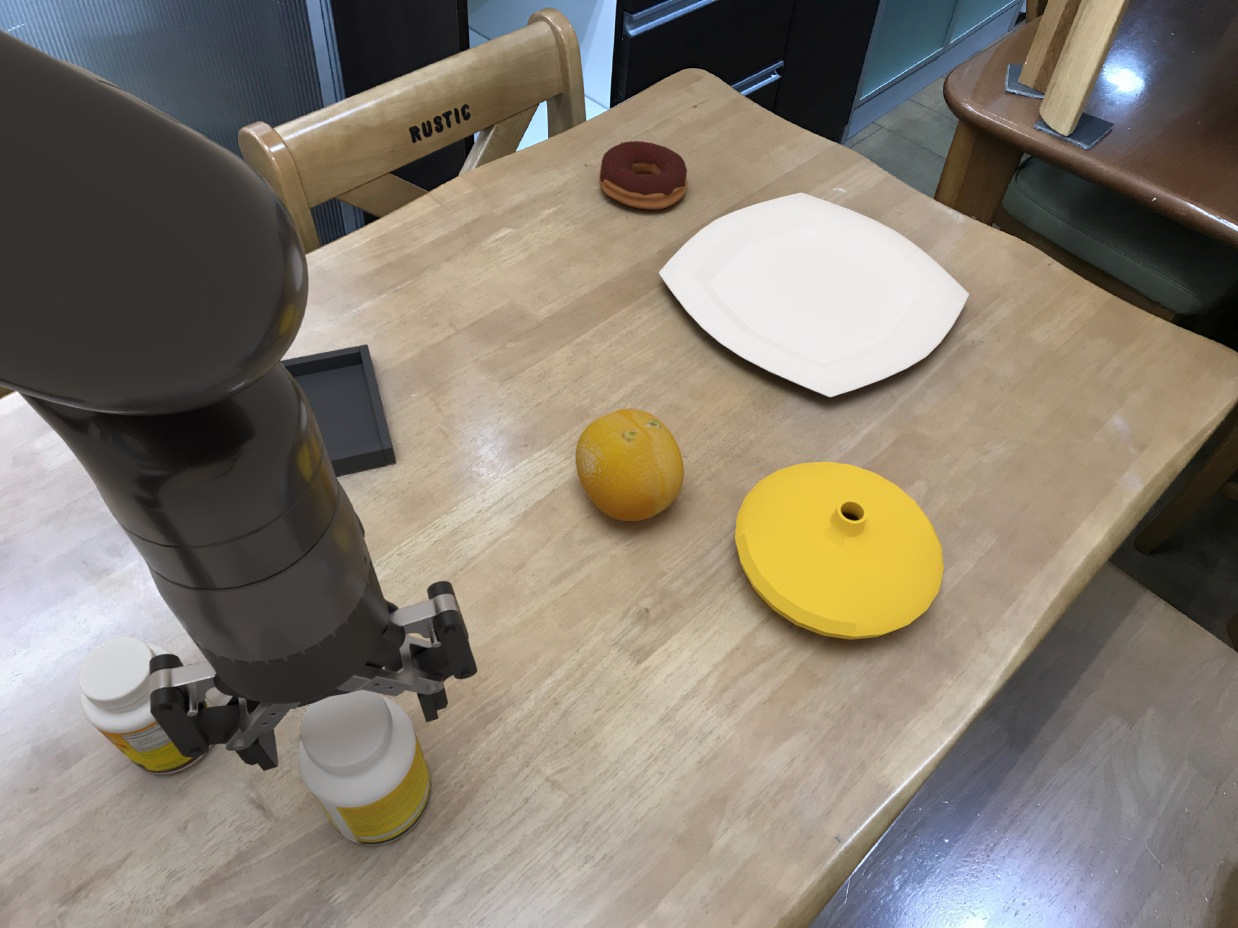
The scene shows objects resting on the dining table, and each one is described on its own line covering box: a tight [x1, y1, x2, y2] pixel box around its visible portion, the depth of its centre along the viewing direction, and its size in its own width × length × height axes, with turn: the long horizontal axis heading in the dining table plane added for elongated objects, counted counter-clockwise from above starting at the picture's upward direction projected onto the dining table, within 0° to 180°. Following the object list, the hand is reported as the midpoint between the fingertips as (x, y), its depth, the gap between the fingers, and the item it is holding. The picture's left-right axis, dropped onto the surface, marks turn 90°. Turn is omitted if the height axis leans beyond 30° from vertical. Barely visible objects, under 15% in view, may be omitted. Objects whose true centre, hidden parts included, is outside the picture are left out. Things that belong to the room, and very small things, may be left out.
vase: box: [734, 461, 945, 640], centre depth 66 cm, size 16×16×7 cm
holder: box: [279, 343, 397, 478], centre depth 74 cm, size 16×13×2 cm
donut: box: [598, 140, 688, 211], centre depth 98 cm, size 10×10×4 cm
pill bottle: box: [298, 690, 432, 846], centre depth 52 cm, size 6×6×12 cm
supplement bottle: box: [77, 636, 214, 775], centre depth 54 cm, size 6×6×10 cm
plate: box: [658, 192, 970, 399], centre depth 88 cm, size 27×27×2 cm
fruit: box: [575, 408, 685, 522], centre depth 69 cm, size 9×8×8 cm
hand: (351, 728), depth 48 cm, fingers open, 8 cm apart
